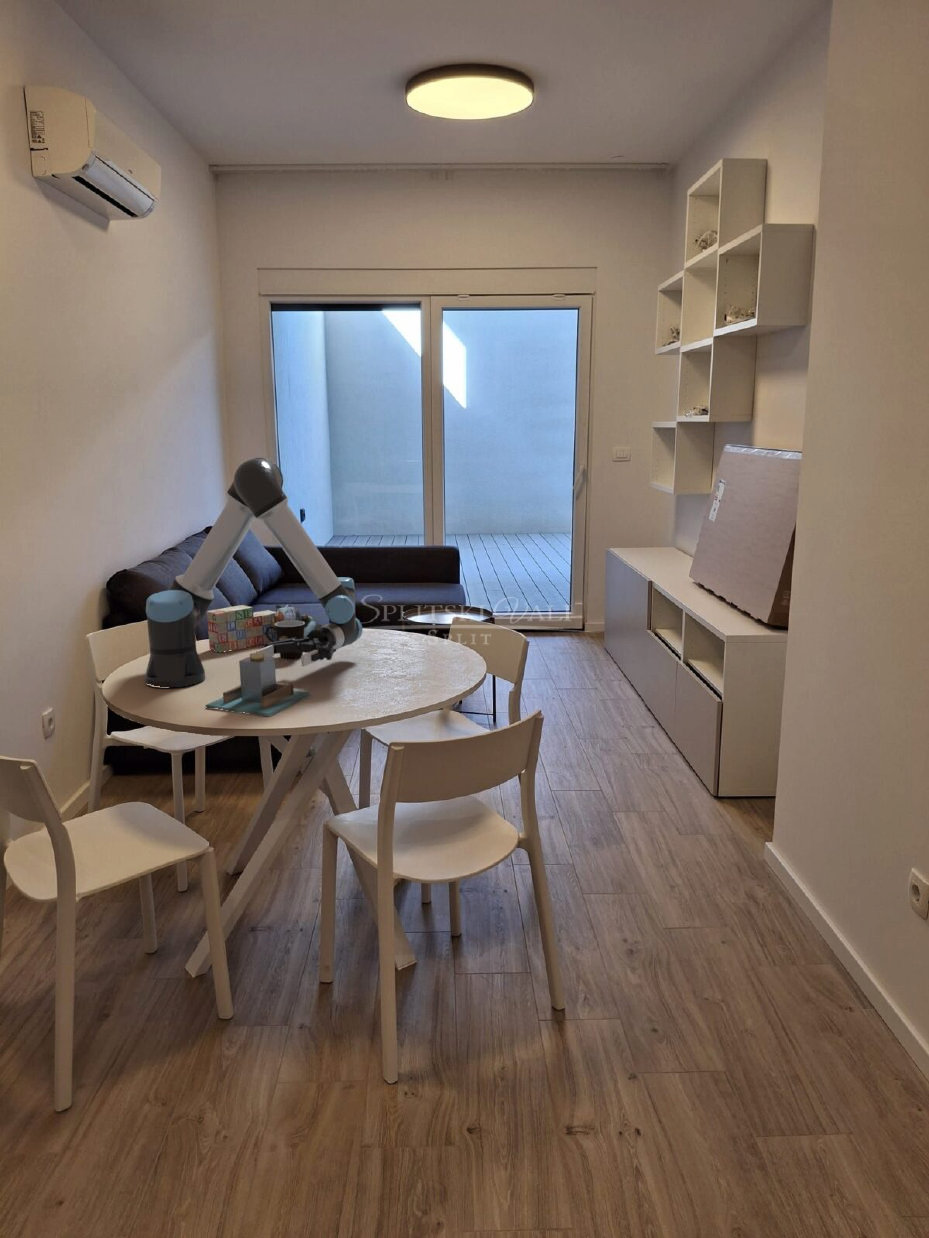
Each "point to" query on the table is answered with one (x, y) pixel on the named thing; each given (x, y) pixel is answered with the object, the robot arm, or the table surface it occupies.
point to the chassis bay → (268, 704)
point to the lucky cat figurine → (294, 618)
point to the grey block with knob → (257, 677)
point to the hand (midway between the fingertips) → (279, 658)
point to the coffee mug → (288, 635)
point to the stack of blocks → (239, 628)
